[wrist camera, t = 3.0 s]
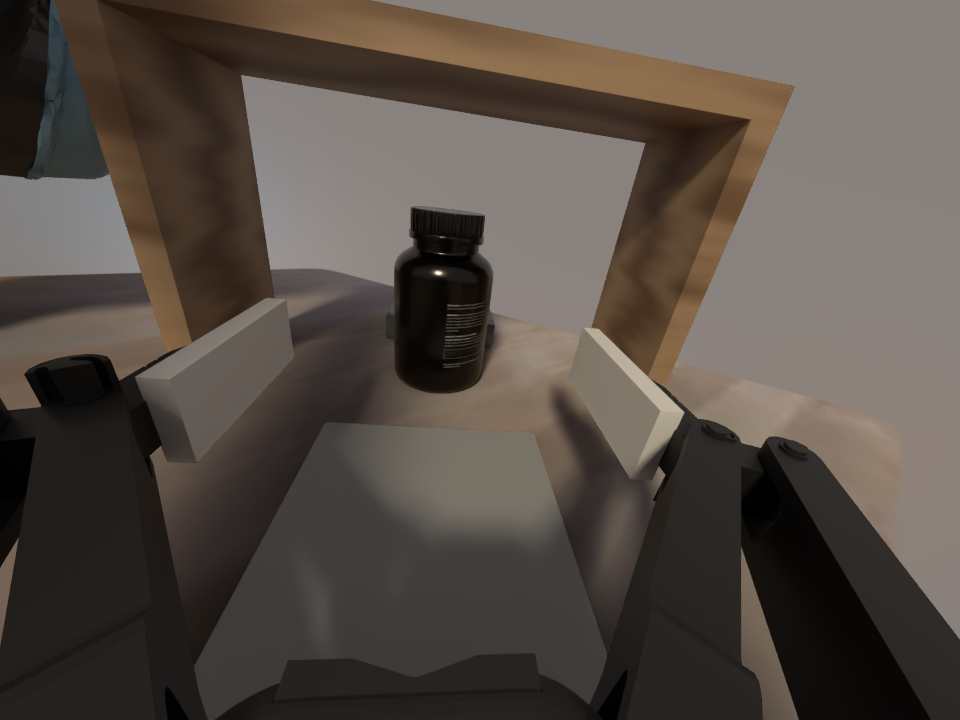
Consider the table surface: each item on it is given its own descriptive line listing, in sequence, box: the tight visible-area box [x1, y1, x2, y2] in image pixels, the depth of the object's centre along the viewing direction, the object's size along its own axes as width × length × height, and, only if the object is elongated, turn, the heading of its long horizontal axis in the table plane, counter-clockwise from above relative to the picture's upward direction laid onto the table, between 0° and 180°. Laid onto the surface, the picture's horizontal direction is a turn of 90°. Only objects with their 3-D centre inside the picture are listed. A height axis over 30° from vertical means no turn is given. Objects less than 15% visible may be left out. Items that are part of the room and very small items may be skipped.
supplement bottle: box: [394, 206, 493, 393], centre depth 24 cm, size 7×7×12 cm
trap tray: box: [386, 301, 495, 346], centre depth 35 cm, size 6×10×2 cm, turn 94°
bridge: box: [54, 0, 795, 387], centre depth 23 cm, size 10×31×20 cm, turn 94°
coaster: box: [194, 422, 608, 720], centre depth 14 cm, size 12×12×1 cm
